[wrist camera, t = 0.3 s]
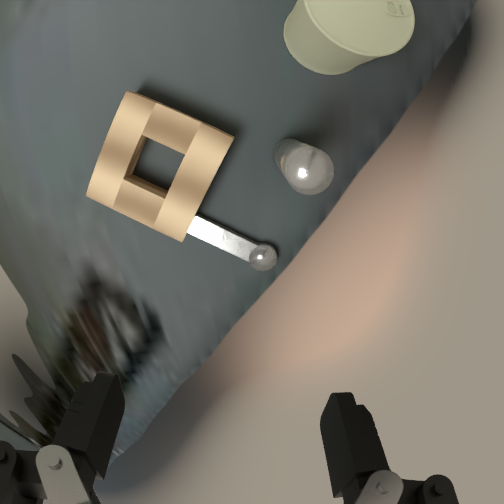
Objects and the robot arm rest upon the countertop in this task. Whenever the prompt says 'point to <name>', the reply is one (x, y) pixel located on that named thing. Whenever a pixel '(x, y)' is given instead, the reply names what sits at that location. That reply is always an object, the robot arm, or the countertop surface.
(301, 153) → the pin
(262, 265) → the bar
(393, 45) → the can
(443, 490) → the robot arm
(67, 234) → the countertop surface
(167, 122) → the socket block
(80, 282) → the countertop surface
